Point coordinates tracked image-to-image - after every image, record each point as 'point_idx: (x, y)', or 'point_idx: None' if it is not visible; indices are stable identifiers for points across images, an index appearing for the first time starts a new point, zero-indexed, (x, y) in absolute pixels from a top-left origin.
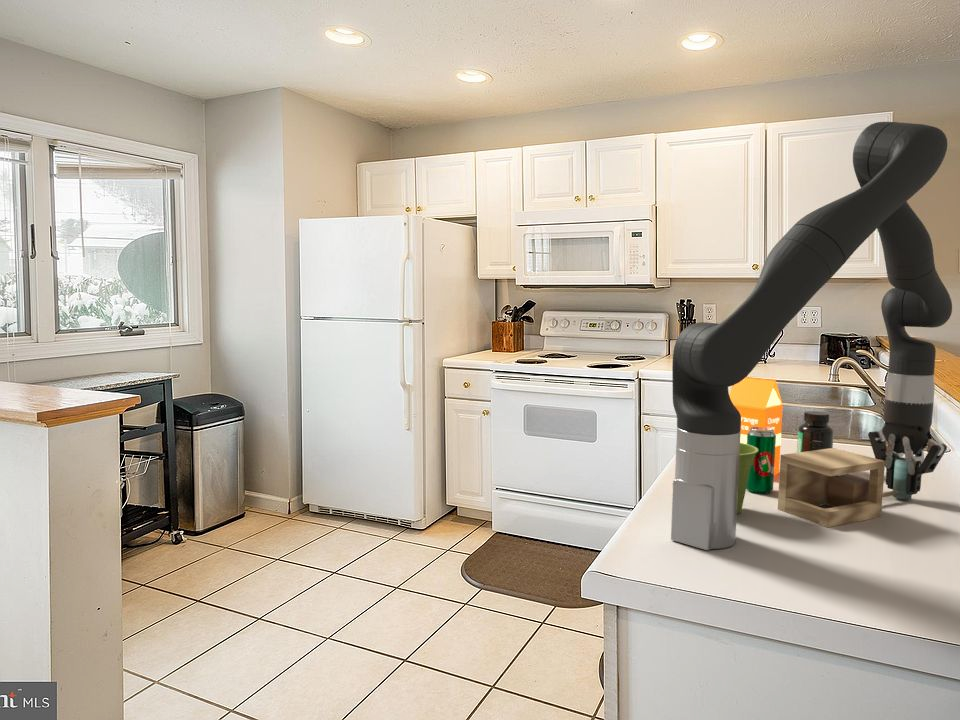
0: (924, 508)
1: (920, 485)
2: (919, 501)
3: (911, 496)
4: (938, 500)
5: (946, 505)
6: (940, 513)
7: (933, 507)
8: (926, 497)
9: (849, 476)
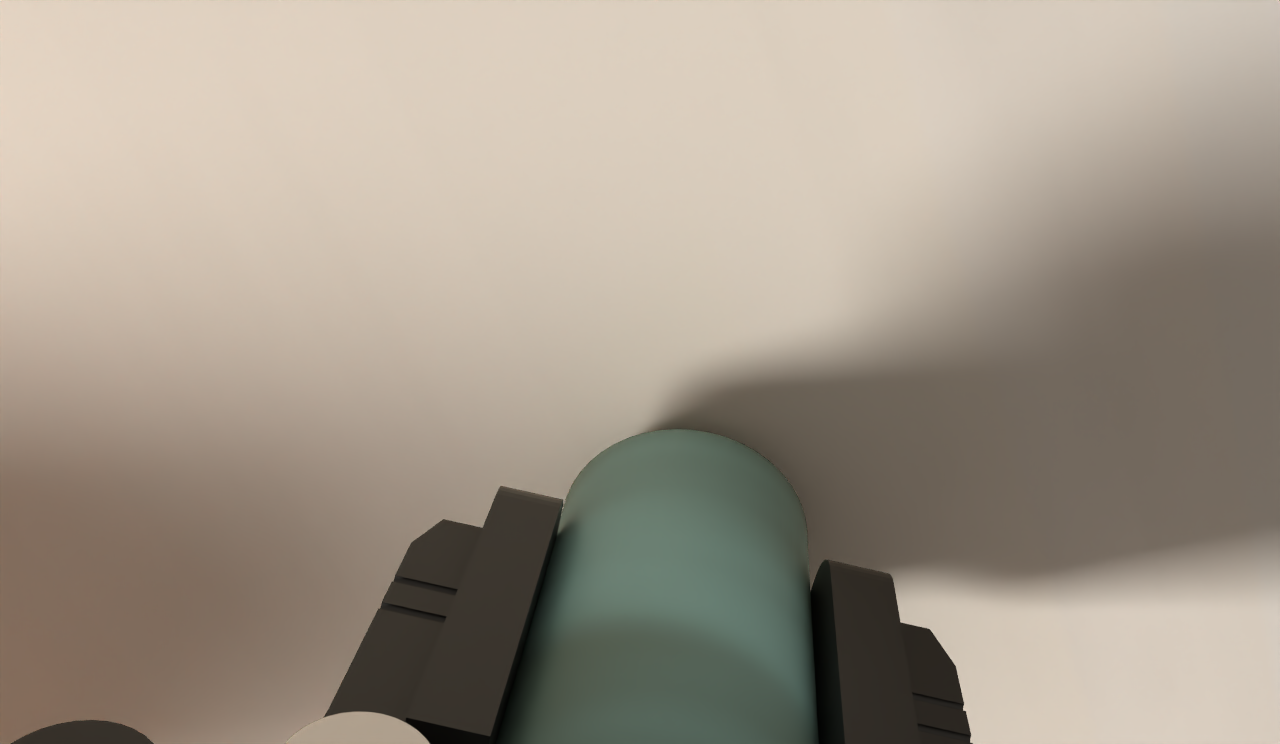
0: (1038, 670)
1: (964, 718)
2: (890, 419)
3: (806, 535)
4: (1100, 124)
5: (1260, 317)
6: (1245, 724)
7: (1120, 552)
8: (897, 103)
9: None
